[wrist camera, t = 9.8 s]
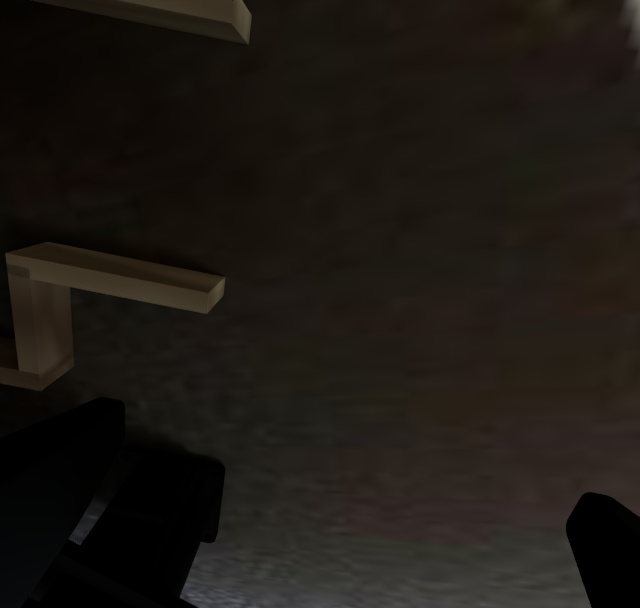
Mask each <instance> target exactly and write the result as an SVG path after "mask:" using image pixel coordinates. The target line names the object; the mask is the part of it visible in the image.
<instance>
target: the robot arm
mask: <svg viewBox="0 0 640 608" xmlns="http://www.w3.org/2000/svg"><path fill="white" fill-rule="evenodd" d="M124 438H125V405H124V403H123V402H122V401H121V400H117V399H112V398H107V397H100V398H97V399H94V400H92V401H89V402H87V403H84V404H82V405H80V406H77V407H75V408H72V409H70V410H67V411H65V412H62V413H60V414H58V415H55V416H53V417H50V418H48V419H45V420H43V421H41V422H38V423H36V424H33V425H31V426H28V427H26V428H23V429H21V430H19V431H16V432H14V433H11V434H9V435H6V436H4V437H1V438H0V608H198V607H196V606H194V605H192V604H190V603H188V602H186V601H184V600H182V599H181V598H180V595H181V592H182V590H183V587H184V585H185V582H186V579H187V577H188V574H189V571H190V569H191V566H192V564H193V561H194V558H195V556H196V553H197V550H198V548H199V545H200V542H205V543H212V542H214V541H215V539H216V536H217V533H218V525H219V517H220V509H221V501H222V493H223V485H224V477H225V467H224V466H223V465H222V464H220V463H217V462H212V461H207V460H201V459H196V458H191V457H186V456H181V455H176V454H170V453H165V452H160V451H155V450H150V449H145V448H139V447H134V446H129V445H125V446H123V447H122V444H123V442H124ZM121 447H122V448H121ZM127 454H128V455H127ZM116 456H117V493H116V495H115V496H114V497H113V499H112V500H111V502H110V503H109V505H108V506H107V508H106V509H105V510H104V512H103V513H102V515H101V516H100V518H99V519H98V521H97V522H96V523H95V525H94V526H93V528H92V529H91V531H90V532H89V534H88V535H87V536H86V538H85V539H84V541H83V542H82V544H81V545H78V544H76V543H75V542H73V541H71V540H69V537H70V535H71V534H72V532H73V531H74V529H75V528H76V526H77V525H78V523H79V521H80V520H81V518H82V516H83V515H84V513H85V511H86V509H87V508H88V506H89V504H90V502H91V500H92V499H93V497H94V495H95V493H96V492H97V490H98V488H99V486H100V484H101V483H102V481H103V479H104V477H105V476H106V474H107V472H108V470H109V468H110V467H111V465H112V463H113V461H114V460H115V458H116ZM215 471H217V472H215ZM566 533H567V537H568V540H569V543H570V546H571V549H572V552H573V555H574V557H575V560H576V563H577V566H578V569H579V572H580V575H581V578H582V581H583V584H584V587H585V590H586V593H587V596H588V599H589V601H590V604H591V607H592V608H640V517H639V516H637V515H636V514H634V513H633V512H632V511H630V510H629V509H627V508H626V507H625V506H623V505H622V504H621V503H619V502H618V501H616V500H615V499H613V498H612V497H610V496H607V495H602V494H597V493H592V492H587V493H585V494H583V495H582V496H581V498H580V499H579V501H578V503H577V504H576V506H575V508H574V510H573V511H572V513H571V515H570V516H569V518H568V520H567V523H566Z"/></svg>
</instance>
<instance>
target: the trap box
mask: <svg viewBox="0 0 640 608" xmlns="http://www.w3.org/2000/svg"><path fill="white" fill-rule="evenodd" d="M31 1H36V2H41V3H46V4H51V5H56V6H61V7H65V8H70V9H75V10H80V11H85V12H90V13H95V14H100V15H105V16H110V17H115V18H119V19H124V20H129V21H134V22H139V23H144V24H149V25H154V26H159V27H164V28H168V29H173V30H178V31H183V32H188V33H193V34H198V35H203V36H208V37H213V38H218V39H222V40H227V41H232V42H237V43H242V44H247V45H249V37H250V27H251V17H252V15H251V14H250V12H249V11H248V9H247V7H246V6H245V4H244V3H243V1H242V0H31ZM5 255H6V263H7V272H8V280H9V289H10V297H11V306H12V314H13V323H14V331H15V339H11V338H6V337H1V336H0V383H1V384H6V385H11V386H16V387H22V388H27V389H32V390H37V391H42V390H43V389H44V388H46V387H47V386H48V385H50V384H51V383H52V382H54V381H55V380H56V379H58V378H59V377H60V376H62V375H63V374H64V373H66V372H67V371H68V370H70V369H71V368H72V367H74V352H73V334H72V316H71V299H70V287H73V288H78V289H83V290H88V291H93V292H99V293H104V294H109V295H114V296H119V297H124V298H129V299H134V300H139V301H144V302H149V303H154V304H159V305H164V306H169V307H175V308H180V309H185V310H190V311H195V312H200V313H205V314H207V313H208V312H209V311H210V310H211V308H212V307H213V306H214V305H215V304H216V303H217V302H218V301H219V300H220V299H221V298H222V296H223V295H224V285H225V277H223V276H218V275H213V274H208V273H203V272H198V271H192V270H187V269H182V268H177V267H172V266H167V265H162V264H157V263H152V262H147V261H142V260H137V259H132V258H127V257H122V256H117V255H112V254H107V253H102V252H97V251H92V250H87V249H82V248H77V247H71V246H66V245H61V244H56V243H51V242H45V243H41V244H37V245H34V246H30V247H26V248H22V249H18V250H15V251H11V252H7V253H5Z"/></svg>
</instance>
